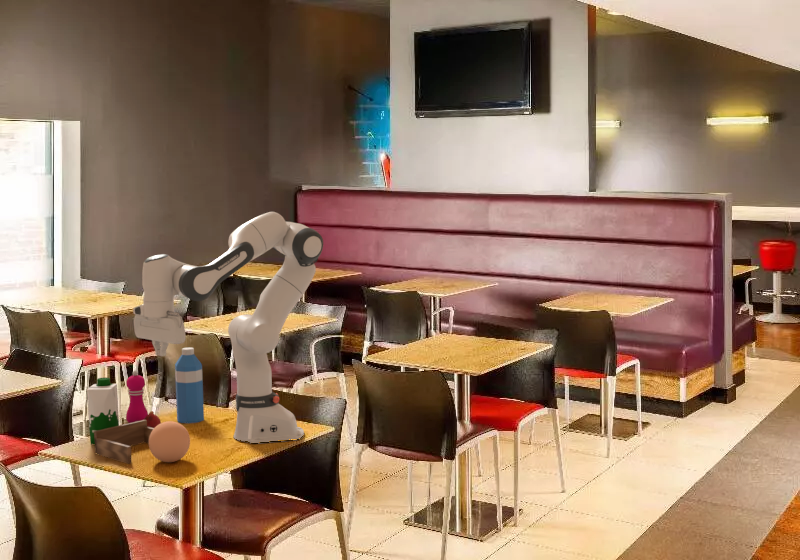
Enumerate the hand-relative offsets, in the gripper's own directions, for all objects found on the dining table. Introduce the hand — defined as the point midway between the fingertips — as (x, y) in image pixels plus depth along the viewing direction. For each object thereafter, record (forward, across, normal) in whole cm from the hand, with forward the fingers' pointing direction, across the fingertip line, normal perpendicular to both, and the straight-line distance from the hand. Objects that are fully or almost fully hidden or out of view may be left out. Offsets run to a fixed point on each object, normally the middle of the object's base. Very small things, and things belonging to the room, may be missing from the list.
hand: (160, 355), depth 310 cm
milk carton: (+32, +30, +1) cm, 43 cm away
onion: (+32, +24, -13) cm, 41 cm away
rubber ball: (+25, -6, +2) cm, 26 cm away
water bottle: (+32, +30, -34) cm, 55 cm away
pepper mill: (+32, +34, -14) cm, 48 cm away
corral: (+31, +10, +2) cm, 33 cm away
